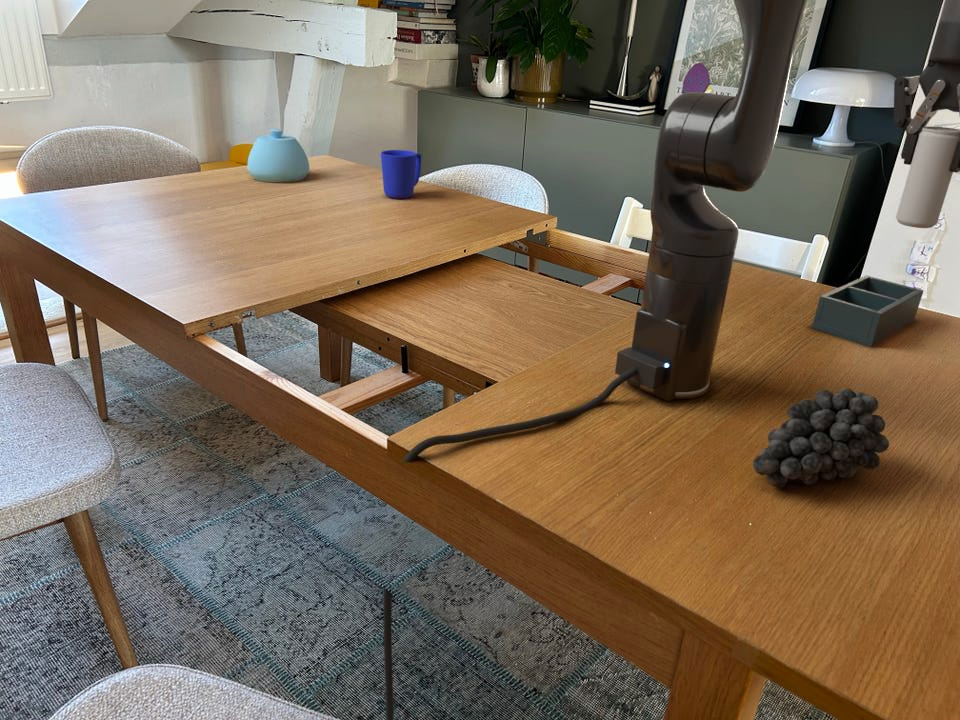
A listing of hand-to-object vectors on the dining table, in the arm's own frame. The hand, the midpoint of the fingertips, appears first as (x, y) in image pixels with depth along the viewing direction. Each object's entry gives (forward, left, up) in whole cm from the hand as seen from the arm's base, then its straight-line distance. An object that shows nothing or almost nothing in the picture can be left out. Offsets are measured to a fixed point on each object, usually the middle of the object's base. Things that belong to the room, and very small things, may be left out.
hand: (932, 167), depth 93 cm
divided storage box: (+7, +5, -25) cm, 26 cm away
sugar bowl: (-16, +141, -25) cm, 144 cm away
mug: (-1, +109, -25) cm, 111 cm away
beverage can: (0, 0, -8) cm, 8 cm away
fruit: (-40, -8, -25) cm, 48 cm away
